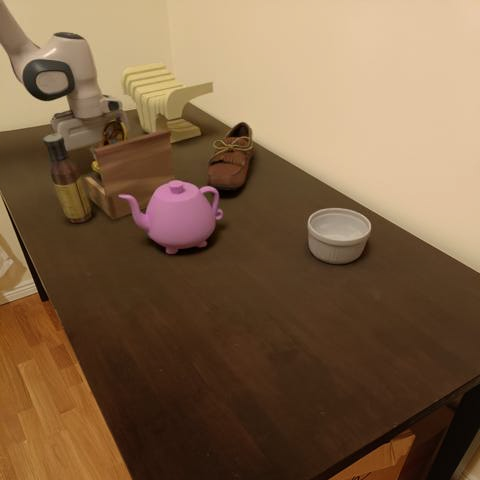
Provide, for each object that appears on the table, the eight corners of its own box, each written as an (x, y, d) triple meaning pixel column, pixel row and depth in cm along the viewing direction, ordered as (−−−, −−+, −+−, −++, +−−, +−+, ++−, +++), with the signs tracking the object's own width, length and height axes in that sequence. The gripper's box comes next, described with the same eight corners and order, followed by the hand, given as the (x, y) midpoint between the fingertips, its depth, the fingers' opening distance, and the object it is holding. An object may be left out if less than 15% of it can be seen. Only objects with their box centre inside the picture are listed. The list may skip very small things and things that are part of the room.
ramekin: (294, 240, 97) (297, 213, 93) (345, 229, 101) (350, 202, 96) (322, 274, 89) (327, 246, 84) (377, 260, 92) (384, 232, 87)
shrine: (121, 163, 127) (112, 110, 116) (138, 173, 123) (130, 119, 112) (87, 175, 121) (74, 121, 110) (103, 186, 117) (91, 130, 107)
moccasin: (231, 204, 109) (230, 158, 101) (188, 196, 113) (183, 150, 104) (270, 157, 130) (272, 115, 122) (233, 151, 134) (232, 110, 125)
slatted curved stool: (129, 126, 150) (119, 69, 137) (169, 116, 156) (162, 61, 144) (172, 154, 132) (165, 92, 120) (215, 142, 139) (212, 81, 126)
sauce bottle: (82, 209, 108) (59, 128, 95) (98, 217, 106) (76, 135, 92) (60, 219, 105) (32, 137, 91) (75, 228, 102) (49, 144, 88)
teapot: (137, 270, 90) (125, 211, 80) (123, 232, 100) (111, 177, 91) (235, 247, 96) (234, 190, 86) (212, 214, 106) (209, 160, 97)
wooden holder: (90, 199, 112) (71, 133, 100) (153, 179, 120) (143, 115, 108) (112, 220, 104) (96, 151, 93) (178, 197, 113) (170, 131, 101)
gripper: (52, 118, 105) (69, 172, 115) (127, 100, 114) (136, 151, 124) (43, 112, 109) (60, 164, 119) (116, 94, 118) (126, 144, 128)
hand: (100, 157), depth 121 cm, fingers closed, pressing on shrine
